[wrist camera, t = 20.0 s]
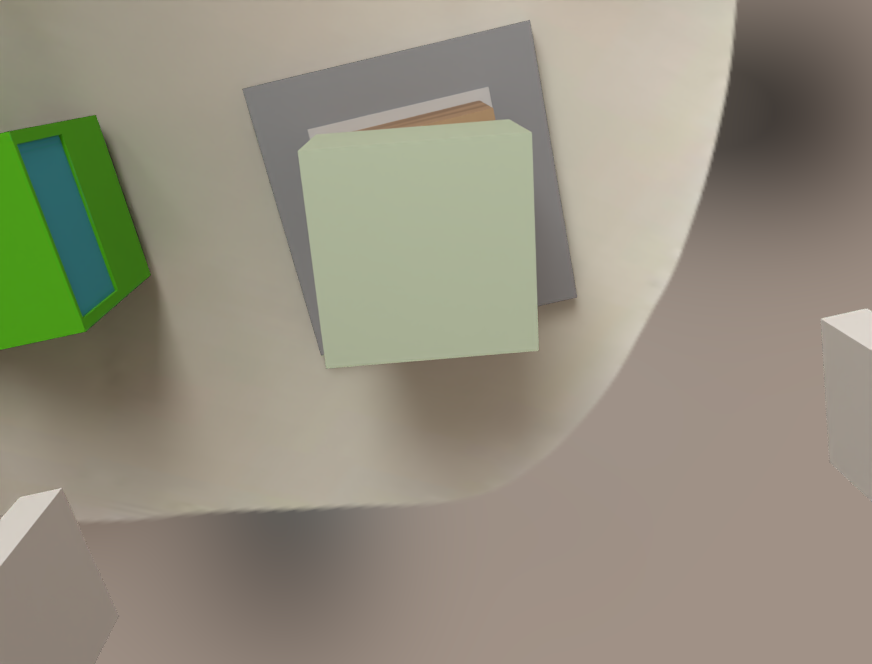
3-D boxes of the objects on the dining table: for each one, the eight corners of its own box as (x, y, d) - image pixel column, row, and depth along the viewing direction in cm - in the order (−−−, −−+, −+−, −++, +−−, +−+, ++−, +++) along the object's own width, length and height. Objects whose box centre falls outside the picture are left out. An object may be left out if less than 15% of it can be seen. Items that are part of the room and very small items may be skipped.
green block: (316, 134, 32) (297, 151, 26) (509, 119, 32) (532, 132, 27) (338, 318, 35) (326, 368, 29) (516, 303, 35) (538, 350, 29)
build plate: (247, 87, 38) (242, 89, 37) (525, 21, 38) (530, 20, 37) (323, 347, 43) (320, 355, 42) (572, 290, 43) (577, 297, 41)
